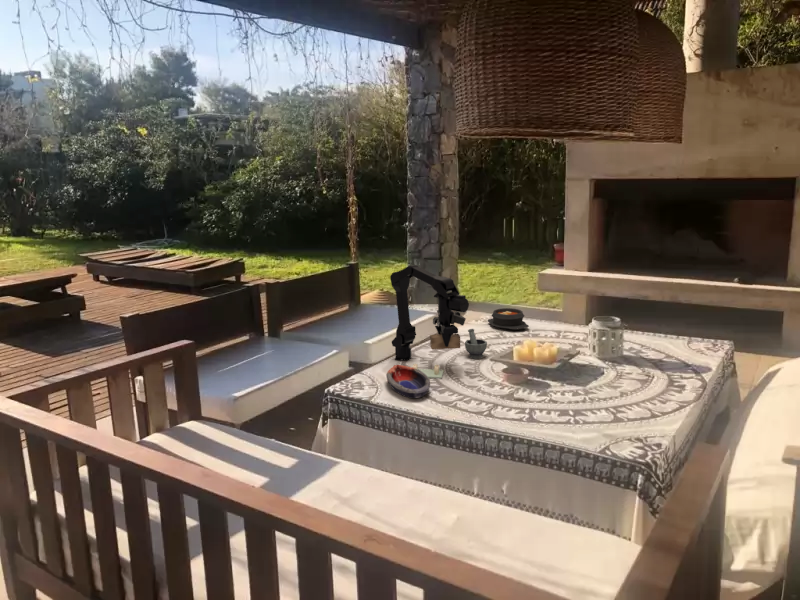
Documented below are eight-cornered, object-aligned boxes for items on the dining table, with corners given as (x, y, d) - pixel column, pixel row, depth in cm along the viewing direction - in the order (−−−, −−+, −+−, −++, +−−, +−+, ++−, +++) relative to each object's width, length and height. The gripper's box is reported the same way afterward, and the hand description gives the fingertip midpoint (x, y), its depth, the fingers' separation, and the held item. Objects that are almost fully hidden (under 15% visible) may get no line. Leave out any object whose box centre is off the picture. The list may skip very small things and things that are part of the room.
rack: (407, 377, 265) (407, 368, 264) (410, 370, 273) (410, 362, 272) (441, 378, 262) (441, 369, 262) (443, 371, 271) (443, 363, 270)
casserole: (537, 329, 333) (537, 313, 331) (508, 334, 324) (508, 318, 323) (507, 319, 355) (507, 304, 353) (479, 324, 346) (479, 309, 344)
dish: (398, 404, 237) (397, 391, 236) (380, 376, 266) (380, 364, 265) (438, 399, 240) (438, 386, 239) (417, 372, 269) (416, 360, 268)
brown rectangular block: (431, 349, 269) (431, 337, 268) (430, 346, 273) (430, 334, 272) (460, 348, 270) (460, 336, 269) (458, 345, 274) (458, 333, 273)
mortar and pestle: (490, 358, 287) (490, 332, 284) (471, 361, 284) (471, 334, 281) (479, 351, 297) (479, 326, 295) (460, 354, 294) (460, 328, 292)
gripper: (470, 312, 261) (470, 349, 264) (457, 302, 278) (457, 337, 282) (443, 314, 258) (443, 351, 262) (432, 304, 276) (432, 339, 280)
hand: (445, 344), depth 271 cm, fingers closed on brown rectangular block, 5 cm apart
